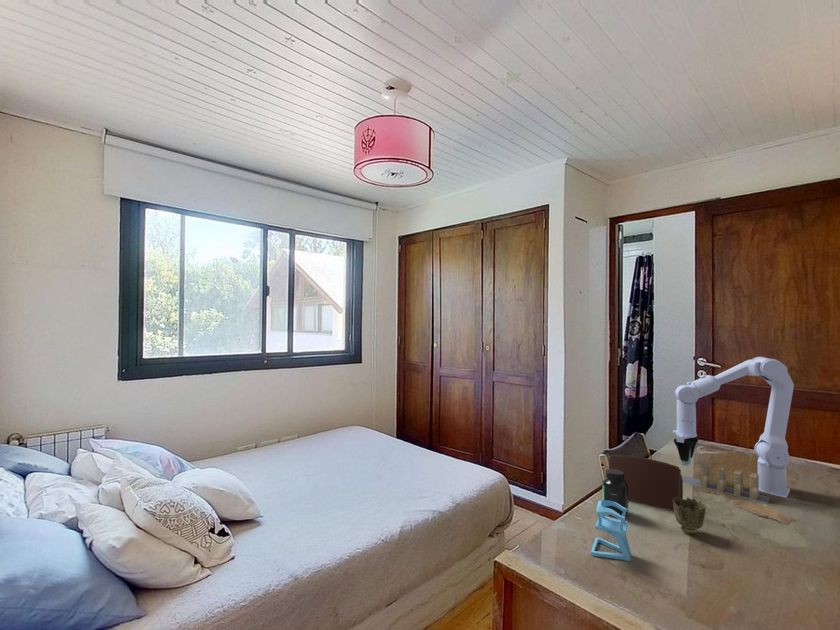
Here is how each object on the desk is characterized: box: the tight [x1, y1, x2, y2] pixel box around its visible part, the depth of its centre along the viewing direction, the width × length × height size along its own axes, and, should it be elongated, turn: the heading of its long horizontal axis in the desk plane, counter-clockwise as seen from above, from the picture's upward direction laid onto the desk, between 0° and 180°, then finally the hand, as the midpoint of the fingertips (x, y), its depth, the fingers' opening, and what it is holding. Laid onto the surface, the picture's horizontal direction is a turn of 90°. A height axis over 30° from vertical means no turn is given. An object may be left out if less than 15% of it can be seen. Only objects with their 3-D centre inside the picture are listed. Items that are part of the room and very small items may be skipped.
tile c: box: [733, 469, 744, 497], centre depth 132 cm, size 2×5×7 cm, turn 133°
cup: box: [673, 496, 707, 536], centre depth 109 cm, size 8×7×8 cm
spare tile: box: [681, 449, 692, 467], centre depth 143 cm, size 2×5×7 cm, turn 132°
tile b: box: [716, 465, 727, 493], centre depth 136 cm, size 2×5×7 cm, turn 132°
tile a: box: [700, 462, 711, 489], centre depth 139 cm, size 2×5×7 cm, turn 132°
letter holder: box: [608, 454, 684, 512], centre depth 130 cm, size 10×20×14 cm, turn 54°
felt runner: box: [681, 474, 771, 505], centre depth 137 cm, size 7×26×1 cm, turn 43°
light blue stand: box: [590, 499, 632, 562], centre depth 99 cm, size 8×8×12 cm
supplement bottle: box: [601, 468, 629, 518], centre depth 120 cm, size 7×7×12 cm
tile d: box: [748, 472, 760, 501], centre depth 129 cm, size 2×5×7 cm, turn 132°
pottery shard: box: [730, 499, 797, 526], centre depth 120 cm, size 8×16×2 cm, turn 14°
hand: (686, 459), depth 143 cm, fingers closed on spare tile, 5 cm apart
